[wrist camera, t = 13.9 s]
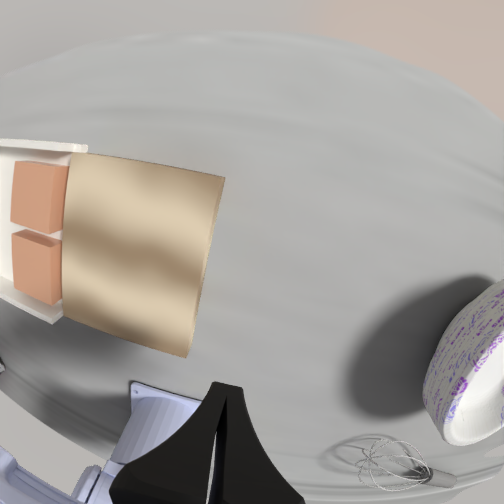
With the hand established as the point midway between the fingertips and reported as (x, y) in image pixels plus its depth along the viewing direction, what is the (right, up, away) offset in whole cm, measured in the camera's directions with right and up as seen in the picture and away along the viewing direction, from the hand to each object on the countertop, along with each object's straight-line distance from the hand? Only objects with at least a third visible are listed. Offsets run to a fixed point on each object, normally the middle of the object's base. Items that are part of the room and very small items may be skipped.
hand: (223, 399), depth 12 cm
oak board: (-7, +7, +8) cm, 13 cm away
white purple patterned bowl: (+23, -2, +10) cm, 25 cm away
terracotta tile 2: (-15, +11, +7) cm, 20 cm away
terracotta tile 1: (-17, +6, +8) cm, 19 cm away
